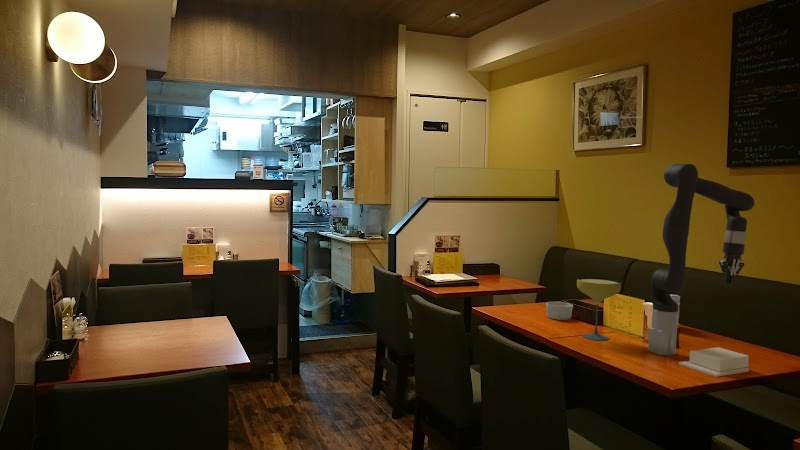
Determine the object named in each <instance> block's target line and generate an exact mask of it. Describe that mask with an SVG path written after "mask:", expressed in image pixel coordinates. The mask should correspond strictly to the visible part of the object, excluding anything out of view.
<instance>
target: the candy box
mask: <svg viewBox="0 0 800 450" xmlns="http://www.w3.org/2000/svg"><path fill="white" fill-rule="evenodd" d="M670 296H671V298H672V299H673V300H674V301H675V302H676V303H677V304H678V320H677V324H678V326H679V323H680V322H679V321H680V306H681V295H679V294H678V295H672V294H670Z"/></svg>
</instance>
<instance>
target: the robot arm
mask: <svg viewBox="0 0 800 450" xmlns="http://www.w3.org/2000/svg"><path fill="white" fill-rule="evenodd" d="M663 178H664V182H665V183H666V184H667V185H668V186H670V187H673V188H676V189H677V190H676V197H675V200H674V202H673V204H672V205H671V207H670V209H669V210H668V211H667V214H666V215H665V217H664V220H663V226H662V240H663V244H664V246H665V249H666V251H667V253H668V259H669V260H668V261H669V264H668V265H669V266H668V269H667V268H666V269H664V268H659V269H657V270H655V271H654V273H653V275H652V276H651V282H650V283H651V285H650V287H651V288H650V299H651V303H652V315H651V327H650V328H649V334H648V335H649V336H648V349H647V350H648V352H650V353H653V354H656V355H659V356H675V355H676V351H677V350H676V349H677V348H676V346H677V336H678V335H677V332H678V331H677V320H678V304H677V303H676V302H675V301H674V300H673V299H672V298H671V296H670V294H672V295H678V296H679V294H681V293H682V292H683V290H684V288H685V284H686V263H687V262H686V260H687V258H686V257H687V248H688V247H687V246H688V240H689V233H690V223H691V215H692V209H693V208H692V207H693V203H694V198H695V194H698V195H700V196H702V197H705V198H707V199H710V200H711V201H713V202H716V203H718V204H721V205H724V208H725V215H726V221H727V222H726V229H725V234H724V239H723V246H722V253H724V255H723V259H721V260H718V264H719V266H720V267H719V268H720V270H721V272H722V273H723V274H725V284H726V285H734V278H735V276H736V275H738V274H739V273H740V272H741V271H742V269H743V268H744V266H745V263H744V262H742V255H744V253H745V246H746V239H747V238H746V237H747V236H746V235H747V234H746V232H747V225H748V224H747V223H748V220H747V218H745V217H743V216H741V213H740V212H748V211H751V210H752V209H753V207H754V206H755V200H754V199H755V198H754V197H753V196H752V195H750V194H749V193H747V192H744V191H741V190H736V189H733V188H730V187H728V186H726V185H724V184H722V183H719V182H716V181H713V180H709V179H705V178H702V177H699V170H698V168H697V167H696V165H694V164H692V163H676V164H671V165H669V166H668V167H666V169H665V170H664V172H663Z"/></svg>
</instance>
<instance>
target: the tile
mask: <svg viewBox="0 0 800 450" xmlns="http://www.w3.org/2000/svg"><path fill="white" fill-rule="evenodd" d="M688 361H689V362H690V363H693V364H696V365H699V366H702V367H705V368H709V369H712V370H715V371H718V372H722V371H728V370H734V369H740V368H748V367H749V355H748V354H744V353H740V352H736V351H733V350H729V349H726V348H723V347H719V346H718V347H710V348H703V349H702V348H701V349H697V350H696V349H695V350H690V351H689V359H688Z"/></svg>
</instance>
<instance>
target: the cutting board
mask: <svg viewBox="0 0 800 450" xmlns="http://www.w3.org/2000/svg"><path fill="white" fill-rule="evenodd" d="M678 365H680V366H683V367H686V368H688V369H692V370H695V371H698V372H701V373H704V374H707V375H710V376H712V377H716V378H718V377H723V376H729V375H734V374H741V373H746V372H750V369H749V368H748V367H746V368H740V369H734V370H728V371H722V372H718V371H715V370H712V369H709V368H705V367H702V366H699V365H696V364H693V363H690V362H689V360H685V361H679V362H678Z"/></svg>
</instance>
